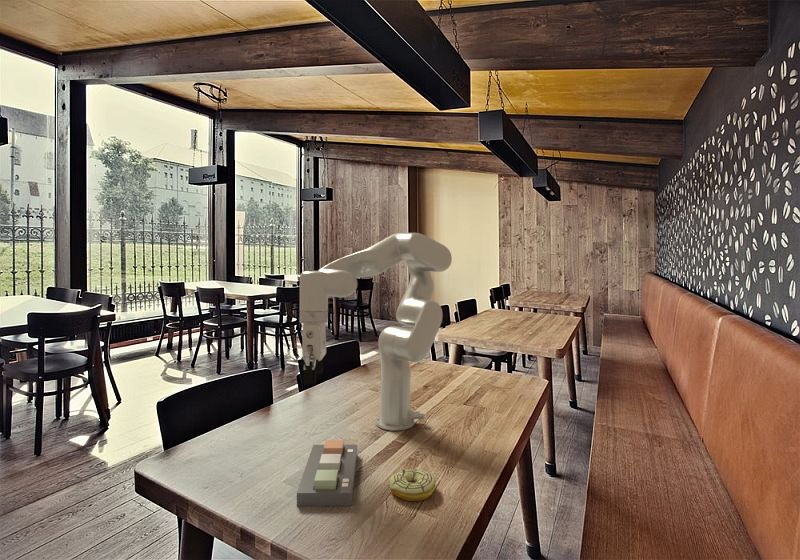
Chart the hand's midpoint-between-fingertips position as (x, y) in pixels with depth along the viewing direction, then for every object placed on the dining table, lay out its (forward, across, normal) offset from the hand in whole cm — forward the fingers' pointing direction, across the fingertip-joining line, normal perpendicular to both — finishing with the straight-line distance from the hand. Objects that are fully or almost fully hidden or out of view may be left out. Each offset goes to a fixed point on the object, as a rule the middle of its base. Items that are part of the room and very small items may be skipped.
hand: (313, 378), depth 123 cm
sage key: (+19, -21, -7) cm, 29 cm away
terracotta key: (+19, -5, -7) cm, 21 cm away
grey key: (+19, -13, -7) cm, 24 cm away
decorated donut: (+21, -18, -27) cm, 39 cm away
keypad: (+21, -13, -7) cm, 26 cm away
